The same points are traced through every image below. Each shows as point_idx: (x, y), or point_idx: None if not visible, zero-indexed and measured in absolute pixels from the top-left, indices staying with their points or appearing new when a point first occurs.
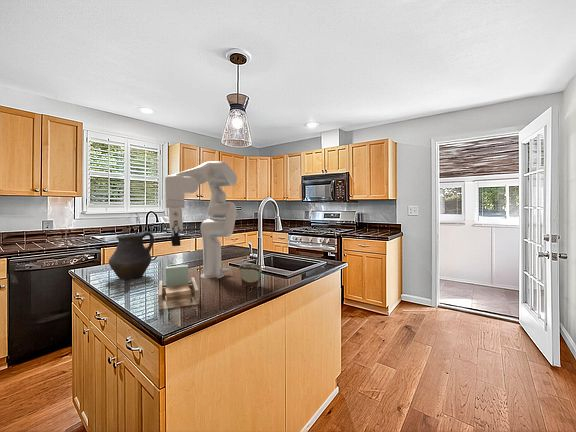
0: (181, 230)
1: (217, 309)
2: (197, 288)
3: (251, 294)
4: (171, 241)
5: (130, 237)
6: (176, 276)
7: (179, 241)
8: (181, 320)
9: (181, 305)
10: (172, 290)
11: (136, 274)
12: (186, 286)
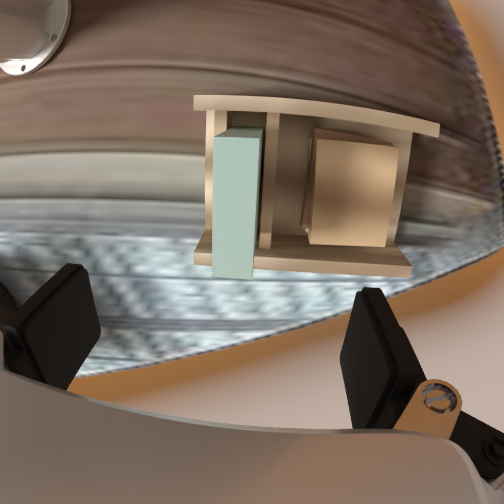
0: (438, 445)
1: (450, 73)
2: (418, 121)
3: None
4: (91, 344)
5: None
6: (257, 200)
7: (393, 325)
8: (469, 195)
9: (398, 180)
10: (361, 219)
11: (5, 303)
12: (333, 151)
